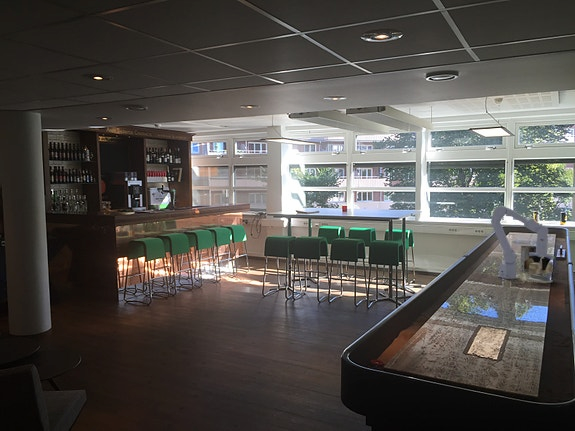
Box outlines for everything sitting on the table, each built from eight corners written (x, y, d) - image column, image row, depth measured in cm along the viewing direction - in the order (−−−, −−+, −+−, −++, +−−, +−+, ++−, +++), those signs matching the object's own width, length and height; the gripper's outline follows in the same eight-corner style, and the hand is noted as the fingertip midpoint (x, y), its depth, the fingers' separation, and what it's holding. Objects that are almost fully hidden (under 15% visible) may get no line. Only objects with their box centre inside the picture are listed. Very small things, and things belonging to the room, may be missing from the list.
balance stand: (543, 283, 261) (543, 277, 261) (527, 279, 270) (528, 274, 270) (552, 281, 265) (552, 276, 264) (536, 278, 274) (536, 273, 273)
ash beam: (534, 274, 262) (534, 264, 262) (528, 273, 265) (529, 263, 265) (552, 272, 269) (552, 262, 269) (546, 271, 272) (547, 261, 272)
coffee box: (533, 269, 302) (535, 245, 301) (538, 271, 296) (539, 247, 295) (519, 269, 303) (520, 245, 302) (523, 271, 297) (524, 246, 296)
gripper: (558, 247, 261) (557, 271, 262) (534, 244, 274) (533, 267, 275) (550, 248, 258) (549, 272, 259) (527, 245, 271) (526, 267, 272)
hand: (540, 269), depth 267 cm, fingers closed on ash beam, 3 cm apart
